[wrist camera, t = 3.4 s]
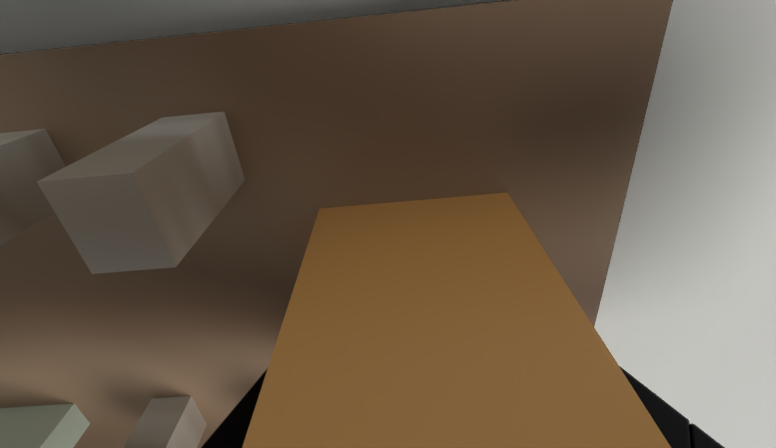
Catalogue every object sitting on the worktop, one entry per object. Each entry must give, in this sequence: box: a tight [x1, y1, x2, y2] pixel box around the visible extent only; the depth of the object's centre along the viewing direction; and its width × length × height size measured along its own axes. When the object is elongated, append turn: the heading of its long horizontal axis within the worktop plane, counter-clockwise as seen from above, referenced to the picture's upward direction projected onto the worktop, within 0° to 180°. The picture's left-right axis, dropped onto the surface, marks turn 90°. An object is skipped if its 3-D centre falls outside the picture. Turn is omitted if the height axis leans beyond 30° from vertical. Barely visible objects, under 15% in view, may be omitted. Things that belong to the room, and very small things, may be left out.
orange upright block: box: [242, 193, 671, 448], centre depth 7 cm, size 5×4×6 cm
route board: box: [0, 0, 673, 448], centre depth 9 cm, size 12×24×4 cm, turn 95°
